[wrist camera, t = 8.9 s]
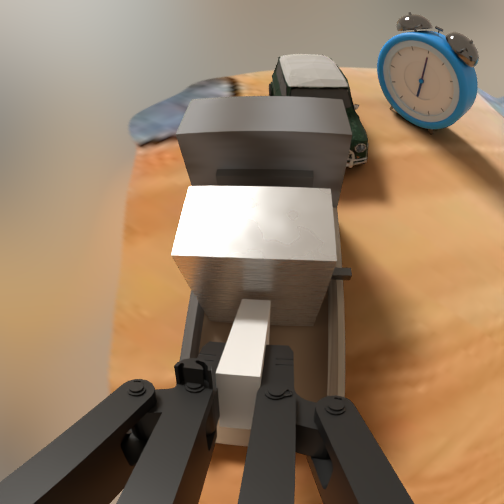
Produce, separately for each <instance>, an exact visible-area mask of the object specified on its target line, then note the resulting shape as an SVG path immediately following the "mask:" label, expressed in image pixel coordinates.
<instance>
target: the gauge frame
mask: <svg viewBox="0 0 504 504" xmlns="http://www.w3.org/2000/svg"><path fill="white" fill-rule="evenodd" d="M176 136H177V139H178V143H179V146H180V149H181V153H182V156H183V159H184V162H185V166H186V169H187V172H188V175H189V178H190V181H191V185H192V186H267V187H302V188H325V189H331V197H332V206H333V217H334V228H335V241H336V255H337V262H336V265H335V267H338V268H342V258H341V245H340V233H339V222H338V213H337V205H338V201H339V197H340V192H341V188H342V183H343V178H344V174H345V169H346V164H347V159H348V154H349V149H350V144H351V139H352V132H351V128H350V124H349V121H348V117H347V114H346V110H345V107H344V103H343V100H342V99H330V98H315V97H291V96H245V97H221V98H205V99H193V100H191V102H190V104H189V106H188V108H187V110H186V112H185V115H184V117H183V119H182V121H181V124H180V126H179V128H178V131H177V133H176ZM232 326H233V323H228V322H214V321H210V320H209V318H208V316H207V315H206V313H205V311H204V310H203V308H202V307H201V305H200V303H199V302H198V300H197V298H196V297H195V295H194V293H193V292H192V290H191V295H190V301H189V306H188V312H187V318H186V324H185V330H184V337H183V343H182V349H181V356H180V361H181V360H183V359H188V358H197V357H198V355H199V353H200V351H201V349H202V347H203V346H204V345H205V344H207V343H208V342H209V341H212V342H223V343H227V340H228V337H229V334H230V332H231V329H232ZM269 345H287V346H289V347H290V348H291V349H292V351H293V352H294V389H295V392H296V393H297V394H298V395H299V396H300V397H301V398H303V399H305V400H308V401H312V402H316V403H317V402H318V401H319V400H320V399H322V398H324V397H327V396H335V395H337V396H342V397H345V314H344V290H343V280H330V282H329V285H328V288H327V291H326V293H325V296H324V299H323V302H322V304H321V307H320V310H319V312H318V315H317V318H316V320H315V323H314V325H313V326H282V325H270V334H269ZM176 385H177V384H176ZM250 431H251V429H240V428H230V427H221V426H220V425H219V420H218V424H217V439H216V442H215V443H221V444H229V445H239V446H248V443H249V437H250Z"/></svg>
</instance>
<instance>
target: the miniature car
mask: <svg viewBox="0 0 504 504" xmlns="http://www.w3.org/2000/svg"><path fill="white" fill-rule="evenodd" d="M272 78H273V82H271V84H269V96H291V97H315V98H330V99H342V100H343V103H344V107H345V110H346V114H347V117H348V121H349V124H350V128H351V132H352V139H351V144H350V149H349V154H348V159H347V164H346V166H349V168H352V166H353V165H357V164H365V163H366V162H367V154H368V138H367V134H366V131H365V129H364V127H363V125H362V123H361V122H360V119H359V116H358V115H357V113H356V112H355V110H356V109H358V107H359V105H356V104H354V105H353V101H352V97H351V92H350V87H349V84H348V80H347V79H346V77H345V76H344V74H343V73H342V71H341V70H340V69H339V67H338V66H337V65H336V64H335V62H334V61H333V60H332V59H331V58H329V57H327V56H324V55H312V54H294V55H286V56H281V57H279V59H278V63H277V65H276V68H275V70H274V73H273V75H272ZM345 79H346V80H345Z"/></svg>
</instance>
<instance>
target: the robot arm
mask: <svg viewBox="0 0 504 504" xmlns="http://www.w3.org/2000/svg"><path fill="white" fill-rule="evenodd" d="M270 306H271V300H252V299H242V301H241V304H240V306H239V309H238V312H237V315H236V318H235V320H234V323H233V326H232V329H231V332H230V334H229V337H228V340H227V343H223V342H212V341H209V342H208V343H207V344H205V345H204V346H203V347H202V349H201V351H200V353H199V355H198V357H197V358H188V359H183V360H181V361H179V362H177V364H176V365H175V366H174V368H175V375H176V381H177V385H176V387H175V388H171V389H159V390H155V388H154V386H153V384H152V383H150V382H149V381H147V380H142V379H134V380H130V381H128V382H126V383H124V384H123V385H121V386H120V387H119V388H118V389H117V390H115V391H114V392H113V393H112V394H110V395H109V396H108V397H107V398H106V399H104V400H103V401H102V402H101V403H100V404H98V405H97V406H96V407H95V408H93V409H92V410H91V411H90V412H88V413H87V414H86V415H85V416H83V417H82V418H81V419H80V420H78V421H77V422H76V423H75V424H74V425H72V426H71V427H70V428H69V429H67V430H66V431H65V432H64V433H62V434H61V435H60V436H59V437H57V438H56V439H55V440H54V441H52V442H51V443H50V444H49V445H47V446H46V447H45V448H43V449H42V450H41V451H40V452H38V453H37V454H36V455H35V456H33V457H32V458H31V459H29V460H28V461H27V462H26V463H24V464H23V465H22V466H21V467H19V468H18V469H17V470H15V471H14V472H13V473H12V474H10V475H9V476H8V477H6V478H5V479H4V480H2V481H1V482H0V504H110V503H111V502H112V500H113V499H114V498H115V497H116V496H117V495H118V494H119V493H120V492H121V491H122V490H123V491H122V494H121V495H120V497H119V499H118V501H117V503H116V504H198V502H199V499H200V495H201V492H202V488H203V485H204V481H205V478H206V474H207V471H208V467H209V464H210V460H211V457H212V453H213V449H214V446H215V442H216V439H217V424H218V420H219V425H220V426H221V427H230V428H240V429H251V431H250V437H249V443H248V449H247V455H246V461H245V466H244V472H243V477H242V483H241V488H240V494H239V499H238V504H294V492H295V452H297V453H300V454H304V455H307V460H308V463H309V466H310V468H311V471H312V474H313V477H314V479H315V482H316V485H317V487H318V490H319V493H320V496H321V498H322V501H323V504H414V502H413V501H412V499H411V498H410V496H409V494H408V493H407V491H406V489H405V488H404V486H403V484H402V483H401V481H400V479H399V478H398V476H397V474H396V473H395V471H394V469H393V468H392V466H391V464H390V463H389V461H388V460H387V458H386V456H385V455H384V453H383V451H382V450H381V448H380V446H379V445H378V443H377V441H376V440H375V438H374V437H373V435H372V433H371V432H370V430H369V428H368V427H367V425H366V423H365V422H364V420H363V419H362V417H361V415H360V414H359V412H358V410H357V409H356V407H355V406H354V404H353V403H352V402H351V401H350V400H349V399H347V398H345V397H342V396H337V395H335V396H327V397H324V398H322V399H320V400H319V401H318V402H317V403H316V402H312V401H308V400H305V399H303V398H301V397H300V396H299V395H298V394H297V393H296V392H295V389H294V352H293V351H292V349H291V348H290V347H289V346H287V345H269V334H270Z"/></svg>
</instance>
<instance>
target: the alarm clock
mask: <svg viewBox="0 0 504 504" xmlns="http://www.w3.org/2000/svg"><path fill="white" fill-rule="evenodd" d="M396 27H397V31H404V30H414V31H415V32H407V33H402V34H399V35H396V36H394V37H392V38H391V39H390V40H389V41H387V42H386V44H385V45H384V46H383V48H382V49H381V51H380V54H379V57H378V63H377V73H378V79H379V83H380V86H381V89H382V91H383V93H384V95H385V97H386V99H387V100H388V102H389V103H390V104H391V107H390V110H391V109H393V108H394V109H395V110H396V111H397V112H398V113H399V114H400V115H401V116H402V117H403V118H405V119H406V120H408V121H409V122H411V123H413V124H415V125H417V126H419V127H422V128H427V129H429V132H430V135H432V129H442V128H446V127H448V126H450V125H452V124H454V123H455V122H456V121H457V120H459V119H460V118H461V117H462V116H463V115H464V114H465V113H466V112H467V111H468V110H469V109H470V108H471V107H472V105H473V103H474V101H475V98H476V94H477V77H476V72H475V69H474V66H476V65H477V63H478V60H479V56H478V51H477V49H476V47H475V45H474V44H473V41H472V40H470V39H469V38H467V37H466V36H464V35H463V34H460V33H457V32H452V33H449V34H448V35H446V36H444V35H442V34H440V33H439V31H438V33H437V32H433V31H417V30H416V29H429V28H432V25H431V23H430V22H429V20H428V19H426V18H425V17H423V16H420V15H416V14H411V13H409V15H405V16H403V17H401V18H400V19H399V20H398V21H397V24H396ZM435 28H436V29H438V30H440V31H443V29H441V28H439V27H437V26H436V27H435Z"/></svg>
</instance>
